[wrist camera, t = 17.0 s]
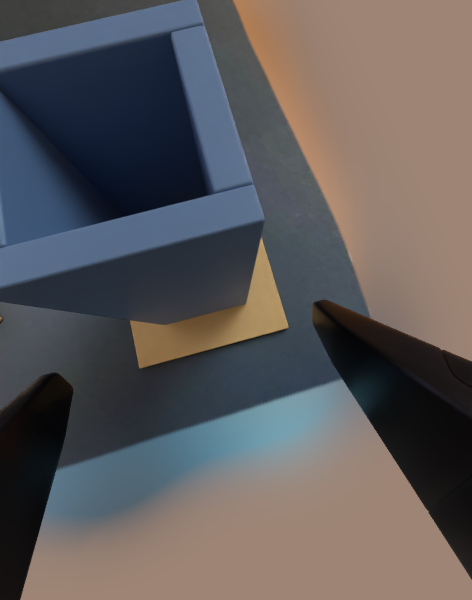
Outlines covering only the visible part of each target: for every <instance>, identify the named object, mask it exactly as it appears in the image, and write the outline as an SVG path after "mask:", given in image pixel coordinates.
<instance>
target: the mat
mask: <svg viewBox="0 0 472 600" xmlns="http://www.w3.org/2000/svg"><path fill="white" fill-rule="evenodd" d="M130 322H131V327H132V333H133V338H134V343H135V348H136V353H137V358H138V364H139V368H144V367H147V366H151V365H155V364H158V363H162V362H166V361H169V360H173V359H177V358H180V357H184V356H188V355H191V354H195V353H199V352H202V351H206V350H210V349H213V348H217V347H221V346H224V345H228V344H232V343H235V342H239V341H243V340H246V339H250V338H254V337H257V336H261V335H265V334H268V333H272V332H276V331H279V330H283V329H287V328H289V327H288V323H287V320H286V317H285V314H284V310H283V307H282V304H281V300H280V297H279V294H278V291H277V287H276V284H275V281H274V277H273V274H272V271H271V268H270V264H269V261H268V258H267V254H266V251H265V248H264V244H263V241H262V238H261V240H260V244H259V249H258V253H257V258H256V262H255V267H254V271H253V275H252V280H251V284H250V289H249V293H248V298H247V302H246V304H243V305H239V306H235V307H232V308H228V309H224V310H220V311H217V312H213V313H209V314H206V315H202V316H198V317H194V318H191V319H187V320H183V321H179V322H176V323H172V324H168V325H159V324H152V323H146V322H139V321H132V320H130Z"/></svg>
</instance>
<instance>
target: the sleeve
mask: <svg viewBox="0 0 472 600" xmlns="http://www.w3.org/2000/svg"><path fill="white" fill-rule="evenodd" d="M264 222H265V218H264V214H263V211H262V208H261V205H260V201H259V198H258V195H257V192H256V189H255V186H254V185H253V180H252V176H251V173H250V170H249V167H248V164H247V160H246V157H245V154H244V151H243V147H242V144H241V141H240V138H239V135H238V131H237V128H236V125H235V122H234V118H233V115H232V112H231V109H230V106H229V102H228V99H227V96H226V93H225V89H224V86H223V83H222V80H221V77H220V73H219V70H218V67H217V64H216V60H215V57H214V54H213V51H212V47H211V44H210V41H209V38H208V35H207V31H206V29H205V25H204V22H203V18H202V15H201V12H200V9H199V5H198V2H197V0H182V1H178V2H174V3H169V4H165V5H160V6H156V7H152V8H147V9H143V10H138V11H134V12H130V13H125V14H121V15H116V16H112V17H107V18H103V19H99V20H94V21H90V22H85V23H81V24H77V25H72V26H68V27H63V28H59V29H55V30H50V31H46V32H41V33H37V34H33V35H28V36H24V37H19V38H15V39H11V40H6V41H2V42H0V302H6V303H13V304H20V305H27V306H34V307H41V308H48V309H55V310H62V311H69V312H76V313H83V314H90V315H97V316H104V317H111V318H118V319H125V320H132V321H139V322H146V323H152V324H159V325H168V324H172V323H176V322H179V321H183V320H187V319H191V318H194V317H198V316H202V315H206V314H209V313H213V312H217V311H220V310H224V309H228V308H232V307H235V306H239V305H243V304H246V302H247V298H248V293H249V289H250V284H251V280H252V275H253V271H254V267H255V262H256V258H257V253H258V249H259V244H260V240H261V235H262V231H263V226H264Z"/></svg>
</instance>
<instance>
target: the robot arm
mask: <svg viewBox="0 0 472 600" xmlns="http://www.w3.org/2000/svg"><path fill="white" fill-rule="evenodd" d="M312 321H313V325H314V327H315V329H316V331H317V333H318V335H319V337H320V339H321V341H322V343H323V345H324V347H325V349H326V351H327V353H328V356H329V357H330V359H331V361H332V363H333V365H334V366H335V368H336V370H337V371H338V373H339V374H340V376H341V377H342V379H343V381H344V382H345V384H346V385H347V387H348V388H349V390H350V391H351V393H352V394H353V396H354V398H355V399H356V401H357V402H358V404H359V405H360V407H361V408H362V410H363V412H364V413H365V415H366V416H367V418H368V419H369V421H370V422H371V424H372V425H373V427H374V429H375V430H376V431H377V433H378V435H379V436H380V438H381V439H382V441H383V443H384V444H385V446H386V447H387V449H388V450H389V452H390V453H391V455H392V456H393V458H394V460H395V461H396V463H397V464H398V466H399V467H400V469H401V470H402V472H403V473H404V475H405V477H406V478H407V480H408V481H409V483H410V484H411V486H412V487H413V489H414V490H415V492H416V494H417V495H418V497H419V498H420V500H421V501H422V503H423V504H424V506H425V508H426V509H427V510H428V511H429V514H430V516H431V517H432V519H433V520H434V522H435V523H436V525H437V526H438V528H439V530H440V531H441V533H442V534H443V536H444V537H445V539H446V540H447V542H448V544H449V545H450V547H451V548H452V550H453V551H454V553H455V554H456V556H457V557H458V559H459V561H460V562H461V563H462V565H463V566H464V568H465V570H466V571H467V573H468V575H469V576H470V578H471V579H472V361H469V360H467V359H464V358H462V357H460V356H457V355H454V354H452V353H450V352H447V351H445V350H441V349H440V348H438V347H436V346H433V345H431V344H429V343H426V342H424V341H422V340H419V339H417V338H415V337H412V336H410V335H408V334H405V333H403V332H400V331H398V330H396V329H393V328H391V327H389V326H386V325H384V324H382V323H379V322H377V321H375V320H372V319H370V318H368V317H365V316H363V315H360V314H358V313H356V312H353V311H351V310H349V309H346V308H344V307H342V306H339V305H337V304H335V303H332V302H330V301H328V300H320V301H316V302H314V303H313V306H312ZM72 396H73V388H72V386H71V385H70V384H69V383H68V382H67V381H66V380H65V379H64V378H63V377H62V376H61V375H60V374H58V373H50V374H46V375H43V376H41V377H39V378H38V379H37V380H36V381H34V382H33V383H32V384H31V385H30V386H29V387H27V388H26V389H25V390H24V391H23V392H21V393H20V394H19V395H18V396H17V397H15V398H14V399H13V400H12V401H11V402H10V403H8V404H7V405H6V406H5V407H4V408H2V409H1V410H0V600H20V598H21V595H22V591H23V588H24V584H25V580H26V577H27V573H28V570H29V566H30V562H31V559H32V555H33V551H34V548H35V544H36V541H37V537H38V534H39V530H40V526H41V522H42V519H43V515H44V512H45V508H46V505H47V501H48V498H49V494H50V490H51V487H52V483H53V480H54V476H55V472H56V469H57V465H58V462H59V458H60V454H61V451H62V447H63V443H64V439H65V435H66V430H67V424H68V418H69V413H70V407H71V401H72Z"/></svg>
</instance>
